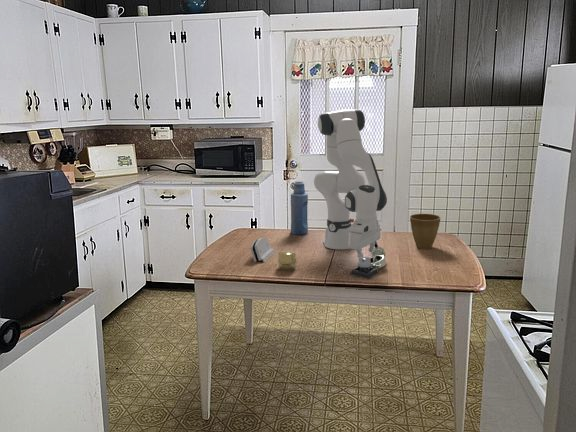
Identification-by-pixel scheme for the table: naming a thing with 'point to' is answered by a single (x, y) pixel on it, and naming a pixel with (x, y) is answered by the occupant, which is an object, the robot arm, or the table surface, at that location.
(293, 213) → the bottle
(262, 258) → the grey bevelled device
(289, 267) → the cylinder
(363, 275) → the flange socket
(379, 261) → the butterfly valve
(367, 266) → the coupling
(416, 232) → the plant pot
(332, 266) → the table surface
